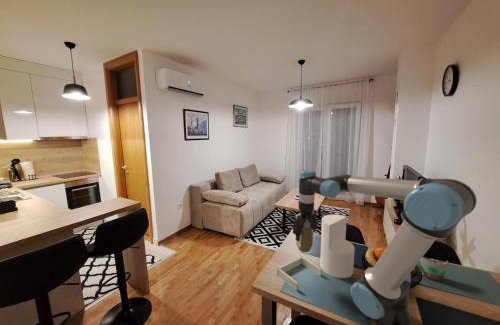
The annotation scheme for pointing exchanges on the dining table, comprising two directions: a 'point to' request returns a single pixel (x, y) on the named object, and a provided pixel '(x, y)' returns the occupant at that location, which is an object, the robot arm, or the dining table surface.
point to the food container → (433, 268)
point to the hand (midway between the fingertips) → (304, 243)
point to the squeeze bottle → (306, 237)
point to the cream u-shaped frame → (292, 265)
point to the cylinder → (336, 247)
